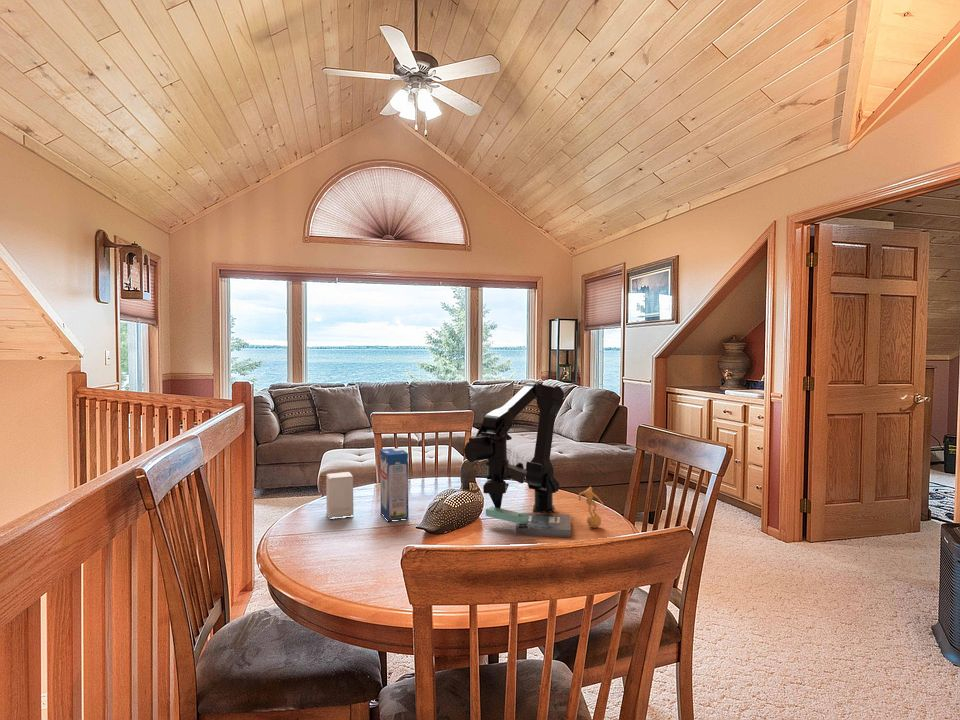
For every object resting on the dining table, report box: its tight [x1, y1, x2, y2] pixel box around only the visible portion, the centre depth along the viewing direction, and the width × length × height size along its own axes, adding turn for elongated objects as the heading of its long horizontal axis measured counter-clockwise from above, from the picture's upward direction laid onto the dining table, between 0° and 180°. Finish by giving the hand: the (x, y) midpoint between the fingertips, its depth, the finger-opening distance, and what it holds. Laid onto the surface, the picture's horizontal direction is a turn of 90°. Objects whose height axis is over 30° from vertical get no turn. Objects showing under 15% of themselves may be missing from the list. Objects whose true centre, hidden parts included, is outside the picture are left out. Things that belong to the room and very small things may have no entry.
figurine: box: [578, 486, 605, 529], centre depth 153 cm, size 8×6×12 cm
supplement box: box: [325, 471, 354, 519], centre depth 166 cm, size 7×7×13 cm
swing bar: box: [485, 506, 528, 524], centre depth 152 cm, size 13×3×2 cm, turn 51°
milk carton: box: [379, 447, 409, 521], centre depth 165 cm, size 10×6×20 cm, turn 23°
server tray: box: [515, 512, 572, 538], centre depth 154 cm, size 14×15×3 cm
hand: (498, 510), depth 158 cm, fingers closed
